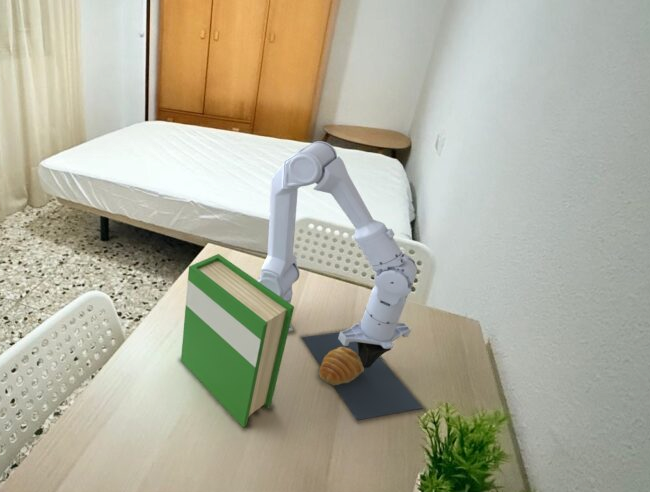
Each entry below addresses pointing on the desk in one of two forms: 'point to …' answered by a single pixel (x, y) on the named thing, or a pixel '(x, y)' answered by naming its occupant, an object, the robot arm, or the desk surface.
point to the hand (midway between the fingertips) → (363, 363)
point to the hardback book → (234, 335)
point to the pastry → (340, 366)
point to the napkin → (366, 383)
